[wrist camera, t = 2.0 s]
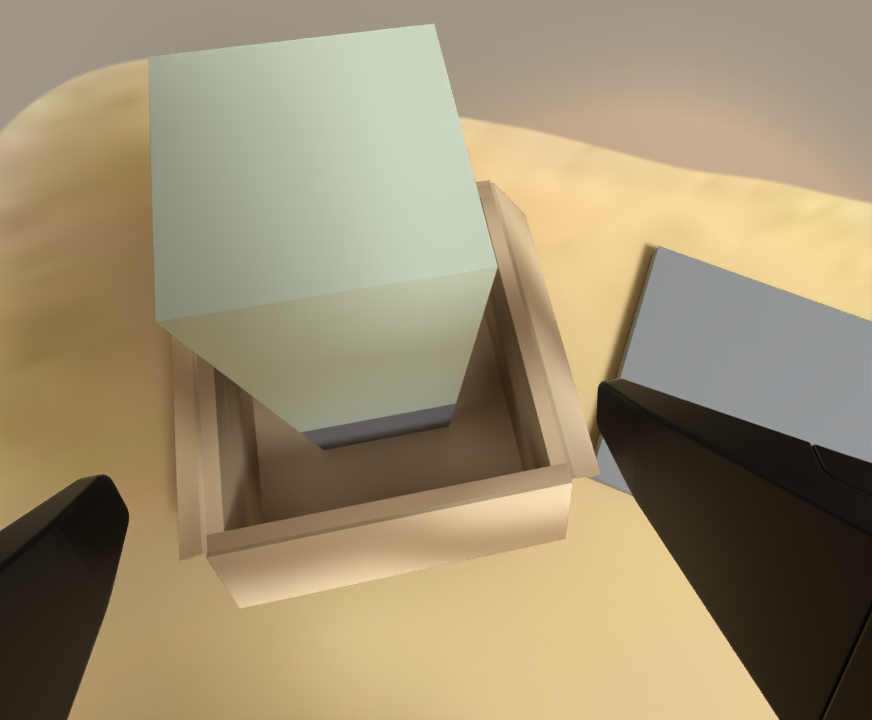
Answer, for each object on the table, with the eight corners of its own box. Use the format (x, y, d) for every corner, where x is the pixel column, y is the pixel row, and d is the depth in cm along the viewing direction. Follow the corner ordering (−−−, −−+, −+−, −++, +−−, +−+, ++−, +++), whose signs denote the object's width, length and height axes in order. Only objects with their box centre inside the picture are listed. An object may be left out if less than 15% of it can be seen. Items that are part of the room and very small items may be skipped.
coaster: (863, 588, 19) (876, 590, 18) (586, 477, 20) (591, 476, 19) (891, 338, 22) (903, 333, 22) (652, 253, 23) (658, 246, 23)
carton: (595, 527, 19) (646, 528, 15) (208, 610, 18) (141, 638, 14) (506, 207, 24) (526, 137, 19) (190, 255, 22) (135, 191, 18)
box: (449, 426, 20) (497, 266, 8) (323, 450, 19) (155, 321, 7) (425, 312, 21) (434, 23, 9) (308, 332, 21) (148, 56, 9)
